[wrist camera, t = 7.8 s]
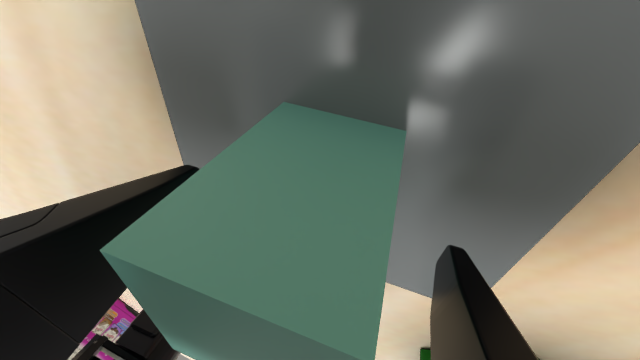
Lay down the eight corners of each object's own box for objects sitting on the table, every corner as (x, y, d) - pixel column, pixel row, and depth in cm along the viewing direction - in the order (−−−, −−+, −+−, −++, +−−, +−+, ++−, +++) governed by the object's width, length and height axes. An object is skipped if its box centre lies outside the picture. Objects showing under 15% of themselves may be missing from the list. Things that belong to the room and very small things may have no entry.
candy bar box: (82, 279, 40) (-71, 409, 28) (92, 278, 38) (-72, 421, 25) (136, 319, 45) (25, 447, 32) (149, 321, 42) (33, 461, 30)
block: (374, 220, 11) (330, 423, 6) (282, 192, 12) (172, 348, 7) (406, 130, 9) (373, 365, 3) (283, 101, 9) (99, 249, 4)
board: (465, 292, 14) (467, 310, 13) (209, 206, 17) (199, 216, 16) (737, -3, 6) (786, -2, 5) (140, -67, 9) (113, -72, 8)
